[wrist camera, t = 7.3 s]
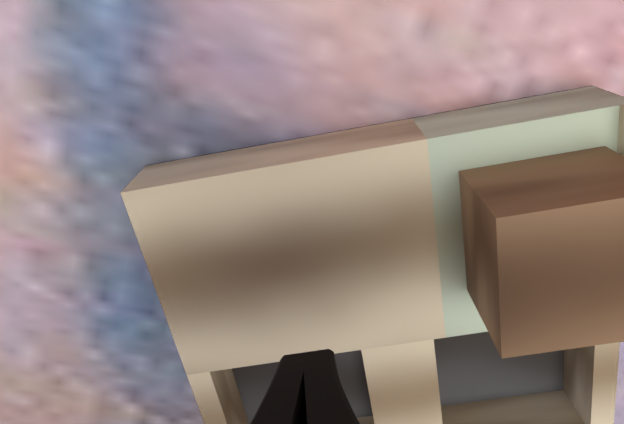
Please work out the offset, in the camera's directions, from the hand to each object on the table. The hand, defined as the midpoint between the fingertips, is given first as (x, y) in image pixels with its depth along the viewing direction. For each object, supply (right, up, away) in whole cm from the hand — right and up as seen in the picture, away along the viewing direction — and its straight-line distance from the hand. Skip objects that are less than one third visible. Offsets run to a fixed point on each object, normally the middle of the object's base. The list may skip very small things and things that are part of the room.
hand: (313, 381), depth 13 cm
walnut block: (+8, +4, +5) cm, 10 cm away
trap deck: (+3, +1, +10) cm, 11 cm away
